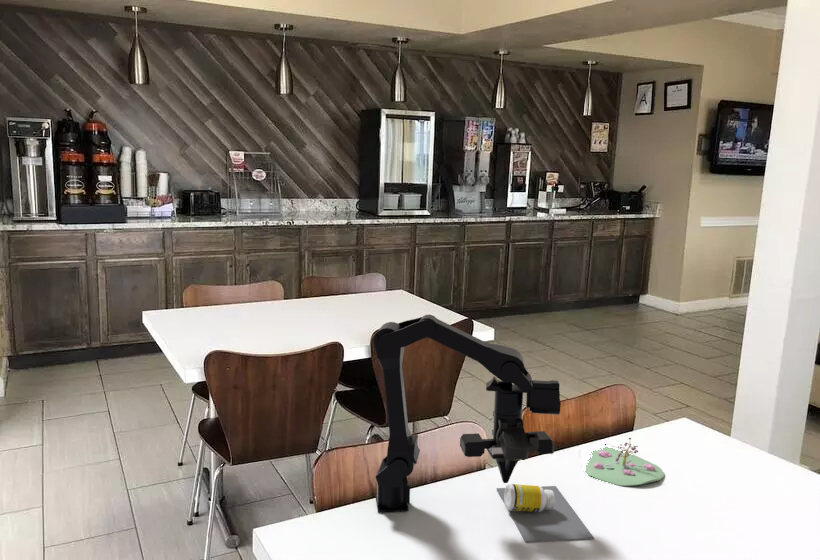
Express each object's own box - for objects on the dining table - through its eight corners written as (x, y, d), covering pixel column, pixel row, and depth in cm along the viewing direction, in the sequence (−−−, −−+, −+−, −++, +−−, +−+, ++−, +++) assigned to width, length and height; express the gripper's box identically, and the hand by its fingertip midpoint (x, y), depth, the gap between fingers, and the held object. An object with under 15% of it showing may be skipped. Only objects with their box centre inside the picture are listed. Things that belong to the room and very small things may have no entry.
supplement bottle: (511, 511, 136) (556, 513, 137) (511, 483, 138) (556, 486, 139) (503, 509, 141) (546, 512, 143) (503, 483, 143) (546, 485, 144)
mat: (525, 542, 129) (525, 541, 129) (496, 489, 150) (496, 488, 150) (594, 539, 131) (594, 537, 131) (555, 487, 152) (555, 485, 152)
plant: (553, 450, 174) (555, 417, 173) (620, 442, 181) (623, 410, 179) (608, 494, 151) (611, 456, 149) (683, 483, 157) (687, 447, 156)
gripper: (472, 427, 127) (469, 503, 129) (565, 424, 129) (561, 498, 132) (460, 407, 138) (458, 477, 140) (546, 404, 140) (543, 474, 143)
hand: (505, 482), depth 138 cm, fingers closed
